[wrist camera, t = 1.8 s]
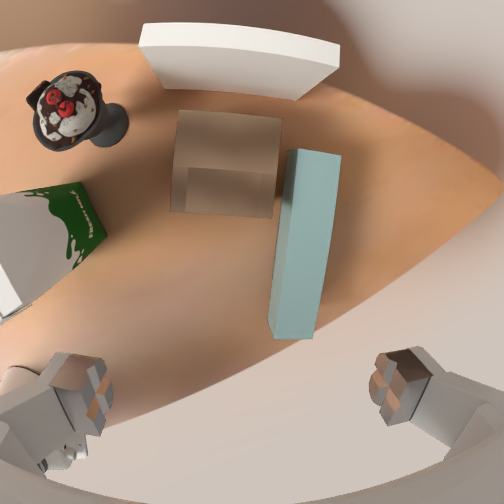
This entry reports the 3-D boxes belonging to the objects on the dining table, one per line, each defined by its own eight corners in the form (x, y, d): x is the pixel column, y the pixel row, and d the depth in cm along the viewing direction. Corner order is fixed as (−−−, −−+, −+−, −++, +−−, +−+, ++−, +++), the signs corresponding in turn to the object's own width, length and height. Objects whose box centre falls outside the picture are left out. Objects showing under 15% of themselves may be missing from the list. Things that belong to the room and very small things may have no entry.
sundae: (144, 137, 28) (88, 112, 14) (91, 165, 28) (9, 167, 14) (125, 86, 26) (66, 32, 12) (74, 114, 26) (-8, 88, 12)
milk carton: (31, 209, 28) (-92, 255, 9) (84, 169, 28) (-48, 181, 9) (63, 272, 31) (-39, 363, 11) (119, 238, 31) (17, 326, 11)
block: (257, 206, 31) (271, 218, 24) (181, 201, 30) (169, 211, 22) (265, 131, 29) (282, 118, 22) (188, 125, 28) (178, 109, 20)
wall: (295, 101, 29) (339, 67, 17) (164, 89, 27) (138, 46, 15) (297, 84, 28) (339, 44, 17) (167, 72, 26) (143, 23, 15)
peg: (301, 320, 33) (312, 339, 29) (267, 320, 32) (273, 339, 29) (325, 157, 28) (341, 155, 25) (287, 151, 28) (298, 148, 24)
